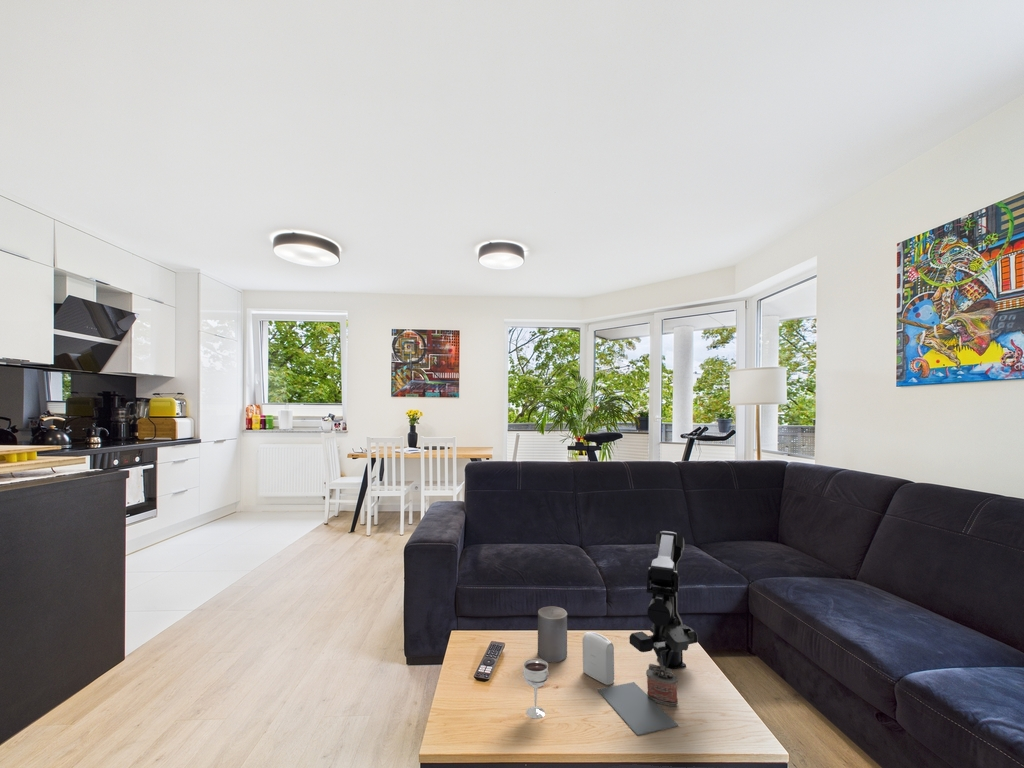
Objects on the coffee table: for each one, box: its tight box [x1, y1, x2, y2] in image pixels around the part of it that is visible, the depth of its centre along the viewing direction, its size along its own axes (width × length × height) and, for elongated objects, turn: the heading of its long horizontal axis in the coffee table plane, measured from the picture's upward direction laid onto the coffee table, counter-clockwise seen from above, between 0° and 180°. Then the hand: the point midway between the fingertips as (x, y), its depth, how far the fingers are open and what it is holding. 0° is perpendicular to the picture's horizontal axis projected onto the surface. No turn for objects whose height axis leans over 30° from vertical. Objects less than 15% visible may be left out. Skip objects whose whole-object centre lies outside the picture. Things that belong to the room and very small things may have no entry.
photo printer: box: [582, 631, 615, 686], centre depth 141 cm, size 10×4×12 cm, turn 39°
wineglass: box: [522, 658, 550, 719], centre depth 124 cm, size 7×7×12 cm
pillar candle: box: [537, 605, 568, 663], centre depth 153 cm, size 10×10×15 cm
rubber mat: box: [597, 681, 679, 737], centre depth 126 cm, size 12×20×1 cm, turn 18°
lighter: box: [645, 663, 679, 707], centre depth 128 cm, size 8×3×10 cm, turn 65°
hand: (664, 670), depth 129 cm, fingers closed
